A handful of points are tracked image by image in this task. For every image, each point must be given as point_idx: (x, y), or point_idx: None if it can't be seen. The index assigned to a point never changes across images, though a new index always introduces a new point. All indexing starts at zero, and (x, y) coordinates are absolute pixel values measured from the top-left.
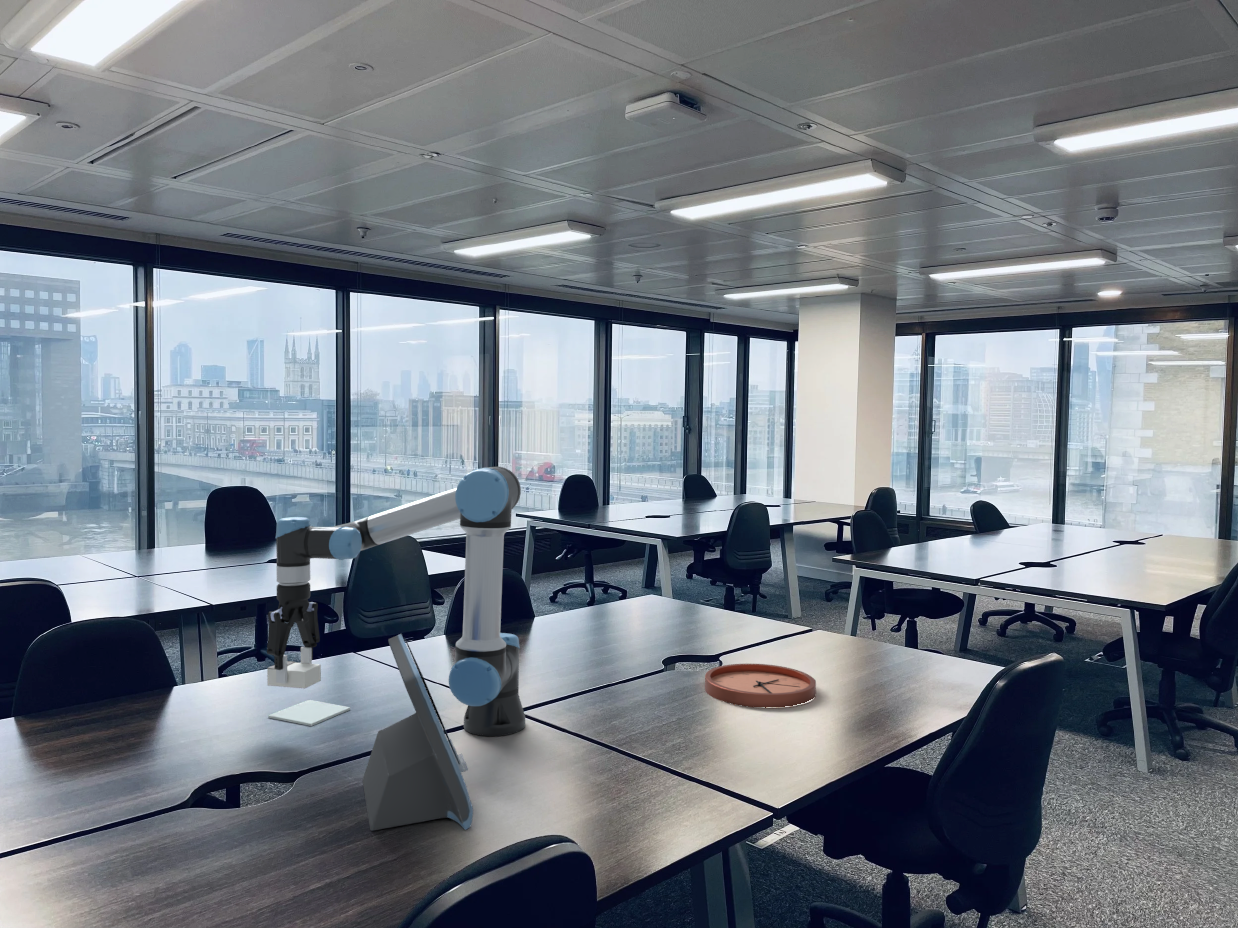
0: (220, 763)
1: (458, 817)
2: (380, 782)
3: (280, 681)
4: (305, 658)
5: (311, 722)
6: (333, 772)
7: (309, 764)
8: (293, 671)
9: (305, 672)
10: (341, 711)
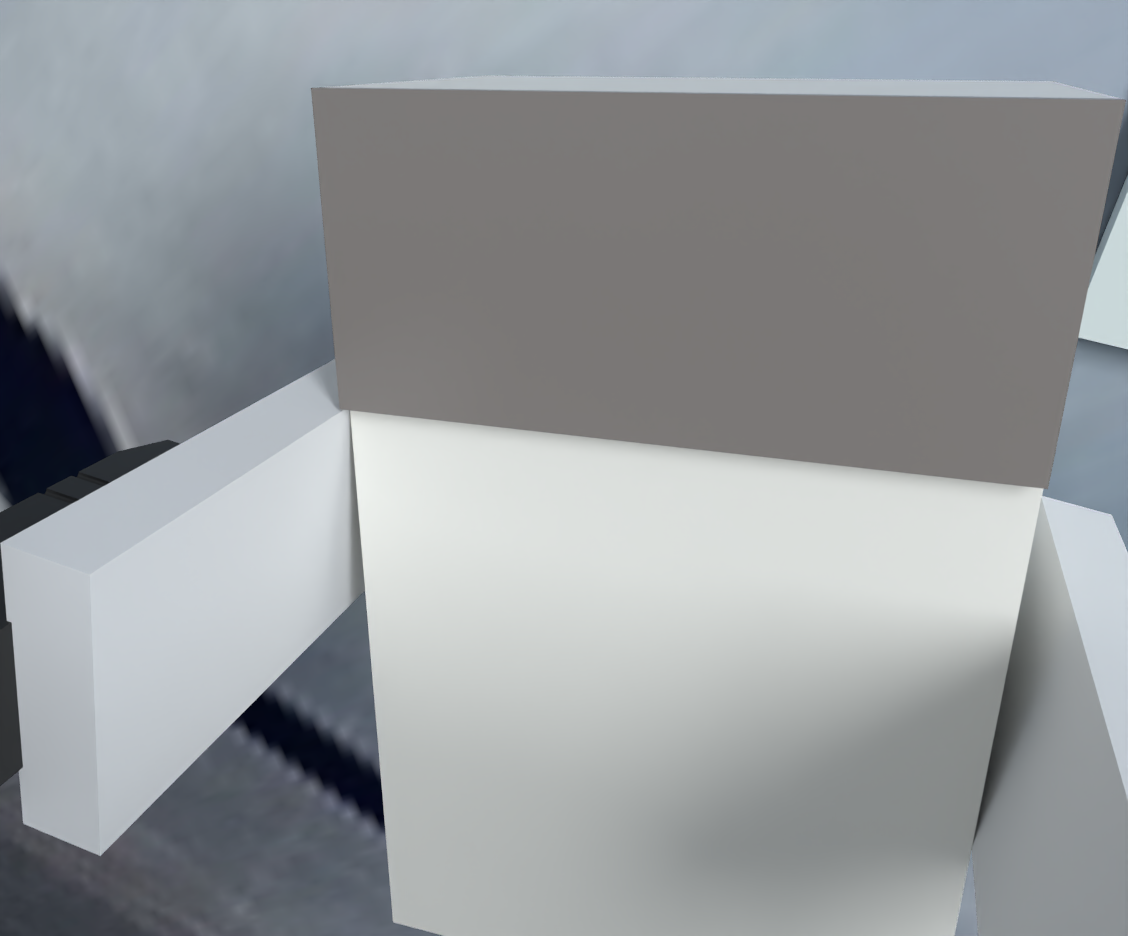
0: (75, 74)
1: None
2: None
3: None
4: (1030, 829)
5: (1110, 317)
6: (261, 820)
7: (298, 666)
8: (383, 718)
9: (416, 911)
10: None
